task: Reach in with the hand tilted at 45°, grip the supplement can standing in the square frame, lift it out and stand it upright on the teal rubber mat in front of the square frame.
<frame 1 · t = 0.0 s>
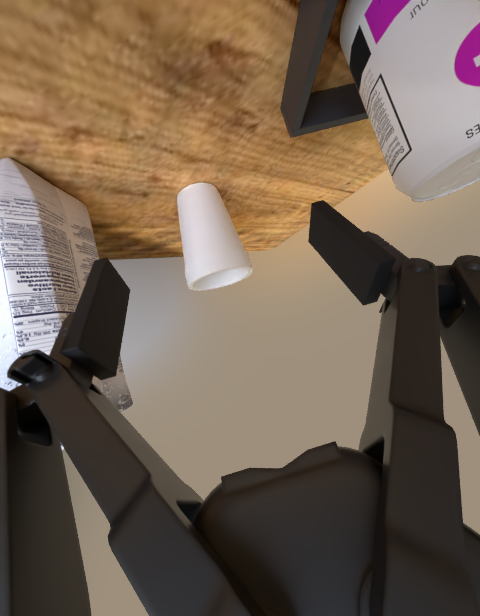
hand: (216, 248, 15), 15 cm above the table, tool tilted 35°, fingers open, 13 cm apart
foam cup: (197, 196, 33), on the table
juice carton: (26, 192, 25), on the table
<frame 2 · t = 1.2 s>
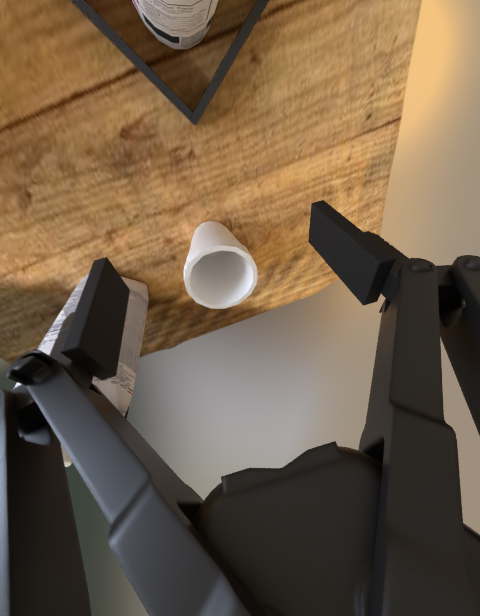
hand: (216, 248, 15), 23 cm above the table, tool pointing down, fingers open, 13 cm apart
foam cup: (211, 238, 38), on the table
juice carton: (117, 289, 41), on the table
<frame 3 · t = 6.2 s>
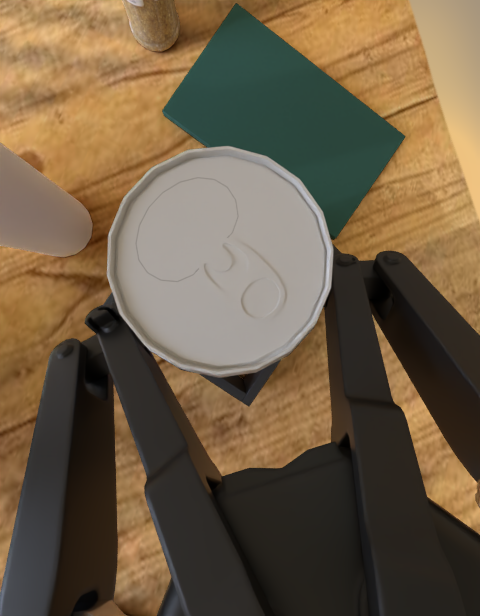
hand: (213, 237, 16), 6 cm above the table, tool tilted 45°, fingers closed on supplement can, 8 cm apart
mat: (285, 128, 22), on the table
drinking glass: (62, 226, 21), on the table
supplement can: (226, 288, 22), resting in square frame, touching gripper
square frame: (226, 288, 22), on the table
sprinkles bottle: (156, 31, 21), on the table
when the fingers open (7 cm above the table, at t = 14.6 s): supplement can stays where it is, resting on mat.
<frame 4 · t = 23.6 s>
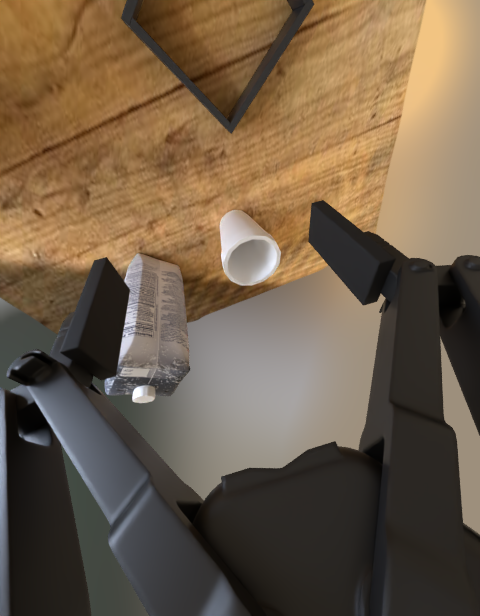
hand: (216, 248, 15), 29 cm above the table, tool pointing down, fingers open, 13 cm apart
foam cup: (235, 225, 45), on the table
juice carton: (154, 271, 48), on the table
square frame: (216, 16, 26), on the table
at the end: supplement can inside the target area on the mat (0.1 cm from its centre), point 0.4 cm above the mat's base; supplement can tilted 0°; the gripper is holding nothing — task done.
